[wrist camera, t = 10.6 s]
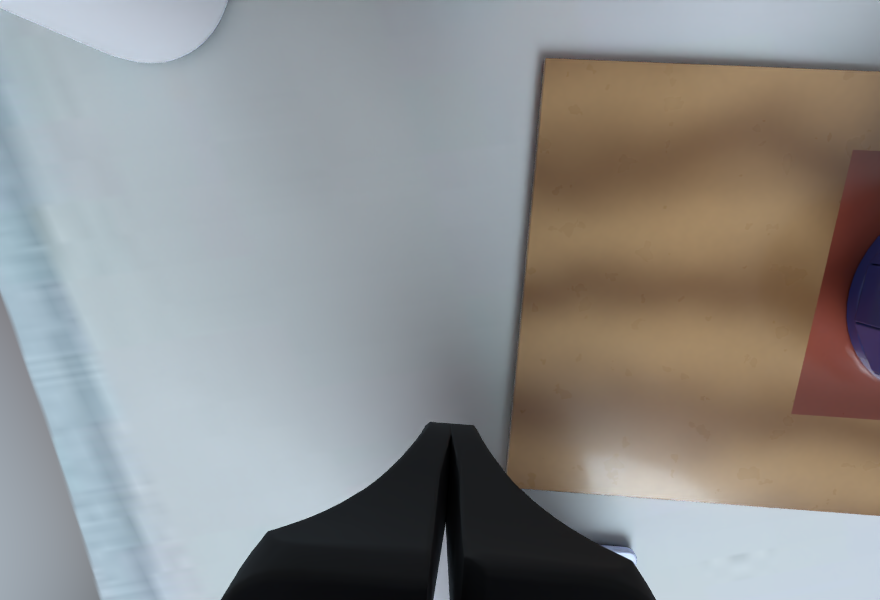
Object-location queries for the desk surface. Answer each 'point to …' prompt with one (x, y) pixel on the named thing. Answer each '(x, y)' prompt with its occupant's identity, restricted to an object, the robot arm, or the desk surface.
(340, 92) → the desk surface
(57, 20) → the pill bottle
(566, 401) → the desk mat
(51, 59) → the desk surface
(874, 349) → the bowl
